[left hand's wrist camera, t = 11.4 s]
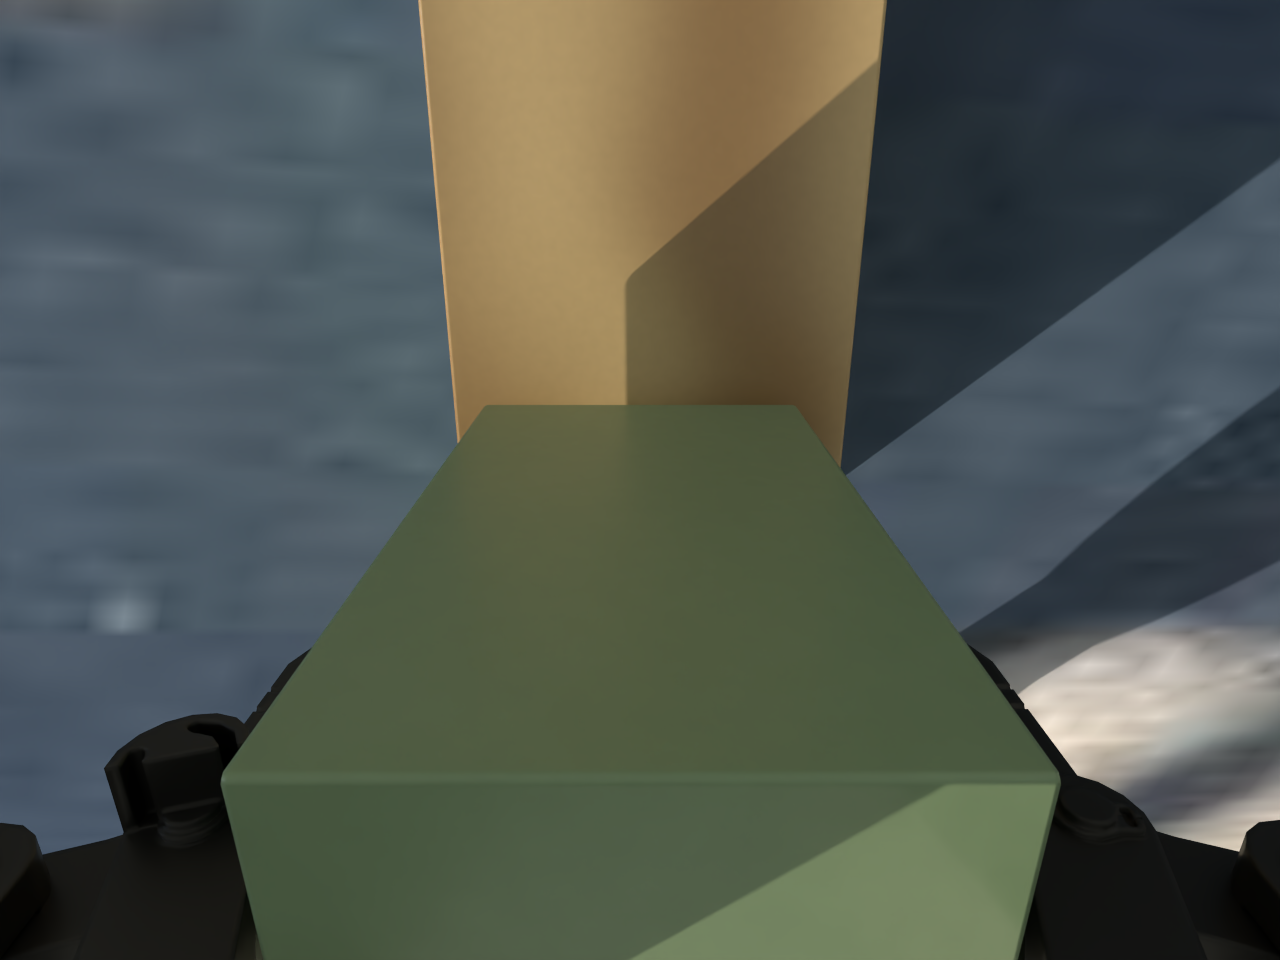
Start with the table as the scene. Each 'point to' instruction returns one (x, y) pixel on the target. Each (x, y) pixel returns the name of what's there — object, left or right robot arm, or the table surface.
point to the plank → (652, 199)
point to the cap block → (640, 719)
